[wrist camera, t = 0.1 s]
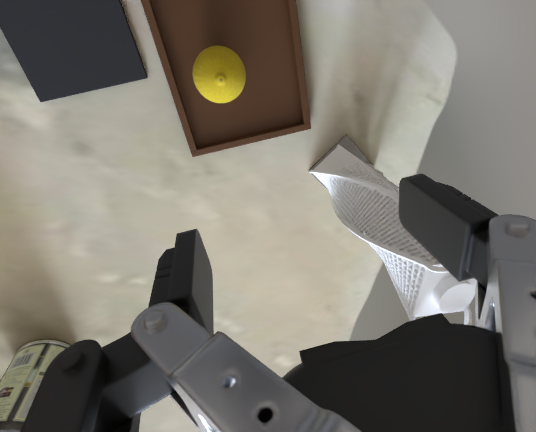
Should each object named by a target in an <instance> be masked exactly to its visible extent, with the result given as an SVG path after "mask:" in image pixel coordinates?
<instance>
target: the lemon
mask: <svg viewBox="0 0 536 432" xmlns="http://www.w3.org/2000/svg"><path fill="white" fill-rule="evenodd" d="M193 80H194V83H195V86H196V88H197V89H198V91H199V92H200V94H201V95H203V96H204V97H205V98H206V99H208V100H210V101H212V102H215V103H227V102H230V101H232V100H234V99H235V98H237V97H238V95H239V94H240V93H241V92H242V90H243V88H244V85H245V81H246V72H245V67H244V65H243V62H242V60H241V59H240V57H239V56H238V55H237V54H236V53H235V52H234V51H233V50H231V49H229V48H227V47H225V46H218V45H217V46H211V47H208V48H206V49H204V50H203V51H202V52H201V53H200V54H199V55H198V57H197V58H196V60H195V62H194V65H193Z"/></svg>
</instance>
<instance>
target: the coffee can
mask: <svg viewBox="0 0 536 432" xmlns="http://www.w3.org/2000/svg"><path fill="white" fill-rule="evenodd" d="M69 346H71V345H69V344H67V343H64V342H60V341H56V340H37V341H33V342H30V343H27V344H25V345H23V346H22V347H21V348H19V350H18V351H17V352H16V355H15V357H14V358H13V360H12V362H11V363H10V365H9V367H8V368H7V370H6V372H5V374H4V375H3V377H2V379H1V380H0V432H20V431H21V428H22V426H23V423H24V421H25V419H26V416H27V414H28V412H29V409H30V407H31V405H32V402H33V400H34V397H35V395H36V393H37V390H38V388H39V386H40V383H41V381H42V379H43V376H44V374H45V372H46V369H47V368H48V366H49V364H50V363H51V362H52V360H53V359H54V358H55V357H56V356H57V355H58V354H59V353H60V352H62V351H63V350H64V349H66V348H67V347H69Z"/></svg>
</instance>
